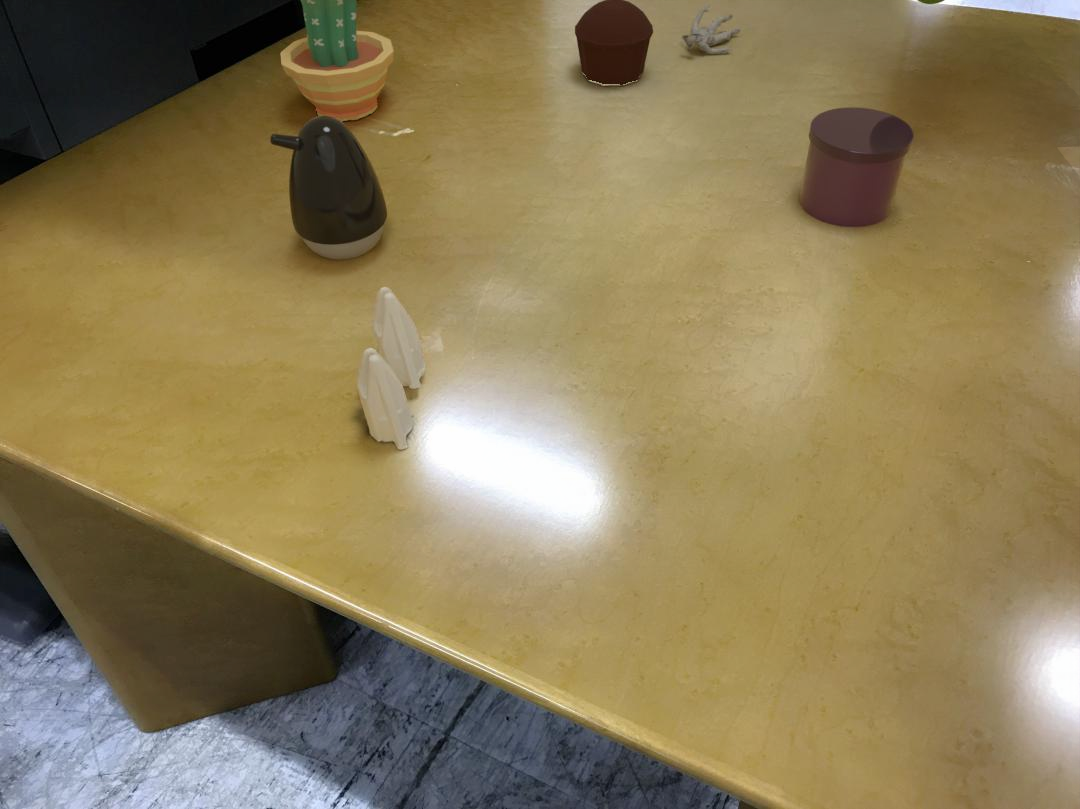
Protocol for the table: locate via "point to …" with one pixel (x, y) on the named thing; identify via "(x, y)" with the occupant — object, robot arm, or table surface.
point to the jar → (853, 165)
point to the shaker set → (390, 371)
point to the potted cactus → (337, 60)
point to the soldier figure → (709, 34)
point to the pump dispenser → (333, 190)
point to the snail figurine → (930, 1)
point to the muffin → (613, 42)
